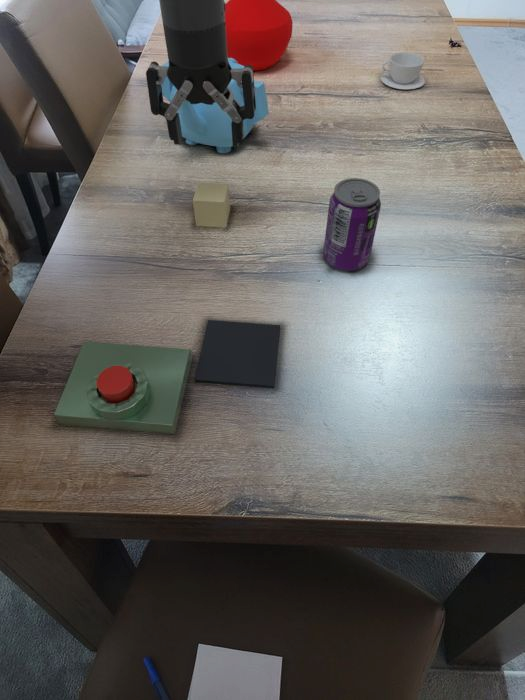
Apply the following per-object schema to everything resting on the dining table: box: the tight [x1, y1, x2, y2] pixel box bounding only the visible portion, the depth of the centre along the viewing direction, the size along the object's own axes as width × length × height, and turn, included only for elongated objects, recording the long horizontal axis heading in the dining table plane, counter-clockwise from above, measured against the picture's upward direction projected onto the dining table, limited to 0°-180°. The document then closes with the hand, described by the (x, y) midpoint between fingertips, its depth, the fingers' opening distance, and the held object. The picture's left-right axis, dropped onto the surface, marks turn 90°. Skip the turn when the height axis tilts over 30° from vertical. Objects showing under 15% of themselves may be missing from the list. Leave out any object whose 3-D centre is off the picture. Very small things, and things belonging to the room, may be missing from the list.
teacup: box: [380, 51, 426, 90], centre depth 110 cm, size 10×10×5 cm
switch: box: [96, 366, 135, 402], centre depth 56 cm, size 4×4×2 cm
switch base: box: [53, 340, 193, 435], centre depth 60 cm, size 14×11×4 cm
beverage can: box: [322, 177, 382, 271], centre depth 71 cm, size 7×7×12 cm
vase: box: [225, 0, 294, 72], centre depth 111 cm, size 18×18×19 cm
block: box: [192, 181, 231, 229], centre depth 80 cm, size 5×5×5 cm
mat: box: [194, 319, 281, 389], centre depth 64 cm, size 10×10×1 cm
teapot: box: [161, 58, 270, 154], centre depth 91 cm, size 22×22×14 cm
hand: (207, 143), depth 71 cm, fingers open, 8 cm apart
